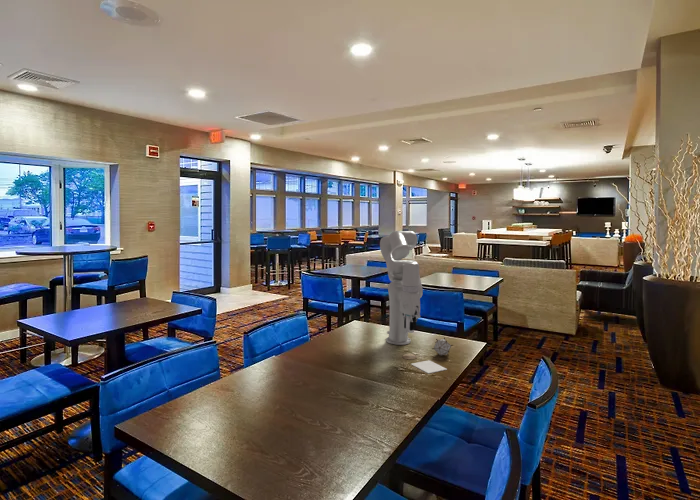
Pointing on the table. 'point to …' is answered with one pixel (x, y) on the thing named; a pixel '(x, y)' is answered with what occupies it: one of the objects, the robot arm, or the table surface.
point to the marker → (408, 324)
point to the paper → (428, 366)
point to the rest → (409, 356)
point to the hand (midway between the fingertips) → (410, 328)
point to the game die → (442, 347)
